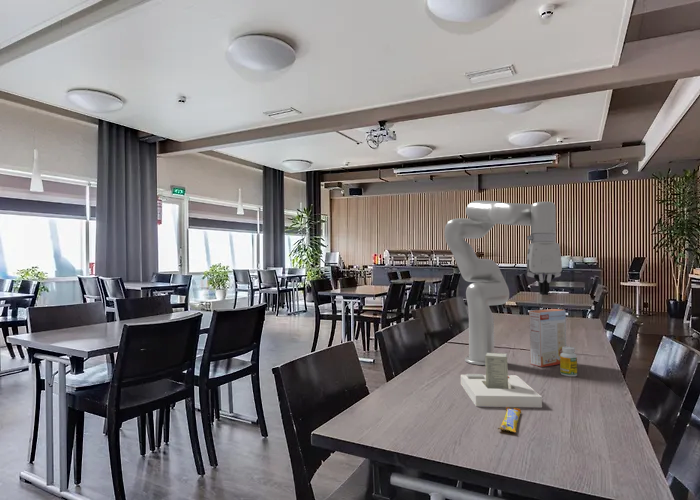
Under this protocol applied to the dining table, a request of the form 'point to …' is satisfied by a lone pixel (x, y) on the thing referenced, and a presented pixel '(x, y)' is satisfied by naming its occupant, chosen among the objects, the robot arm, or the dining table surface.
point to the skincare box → (496, 371)
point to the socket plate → (500, 392)
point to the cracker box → (547, 336)
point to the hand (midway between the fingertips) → (543, 294)
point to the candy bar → (510, 419)
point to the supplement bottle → (568, 362)
